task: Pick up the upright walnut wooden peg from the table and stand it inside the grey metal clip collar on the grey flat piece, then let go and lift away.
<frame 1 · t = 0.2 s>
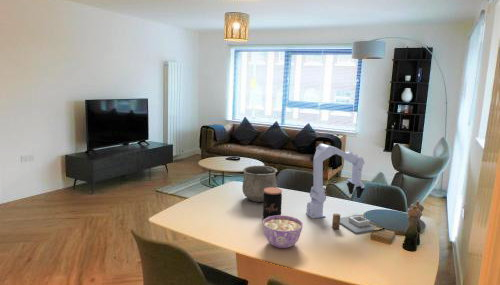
hand: (354, 195, 229), 10 cm above the table, tool pointing down, fingers open, 7 cm apart
pot: (259, 200, 246), on the table
coffee jar: (271, 219, 213), on the table
walnut peg: (335, 228, 203), on the table
bowl of food: (281, 244, 182), on the table
grey flat piece: (358, 224, 209), on the table
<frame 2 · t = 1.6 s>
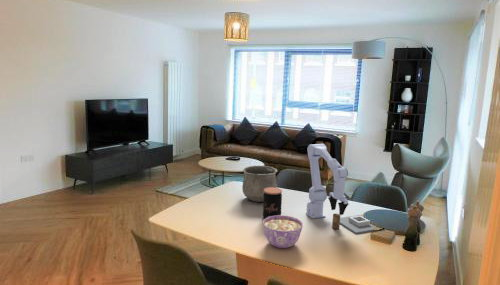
hand: (337, 212, 202), 9 cm above the table, tool pointing down, fingers open, 7 cm apart
nothing on the table moved.
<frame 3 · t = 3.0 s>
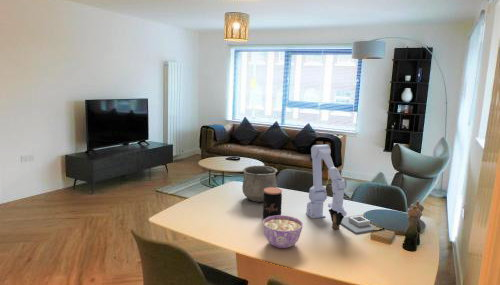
hand: (336, 223, 203), 3 cm above the table, tool pointing down, fingers closed on walnut peg, 4 cm apart
walnut peg: (335, 228, 203), on the table, touching gripper
everything else where it was.
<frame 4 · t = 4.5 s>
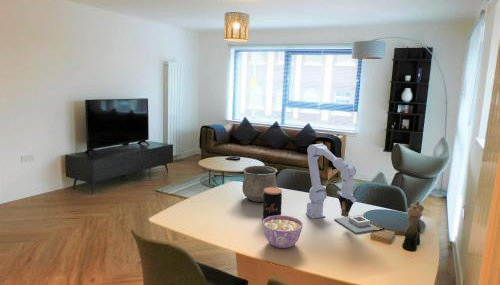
hand: (345, 210, 203), 10 cm above the table, tool pointing down, fingers closed on walnut peg, 4 cm apart
walnut peg: (344, 215, 204), point 7 cm above the table, touching gripper
everything else where it was.
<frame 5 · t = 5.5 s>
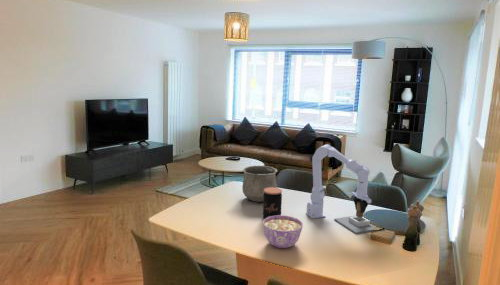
hand: (360, 211, 208), 8 cm above the table, tool pointing down, fingers closed on walnut peg, 4 cm apart
walnut peg: (359, 215, 208), point 5 cm above the table, touching gripper
everything else where it was.
when the fingers open (5 cm above the table, at t = 6.4 s): walnut peg drops 1 cm, resting on grey flat piece.
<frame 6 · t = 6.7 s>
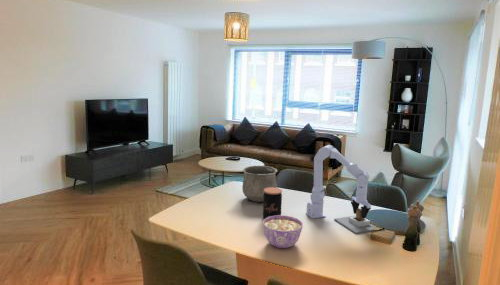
hand: (359, 215, 208), 5 cm above the table, tool pointing down, fingers open, 7 cm apart
walnut peg: (358, 223, 209), point 1 cm above the table, touching grey flat piece
everything else where it was.
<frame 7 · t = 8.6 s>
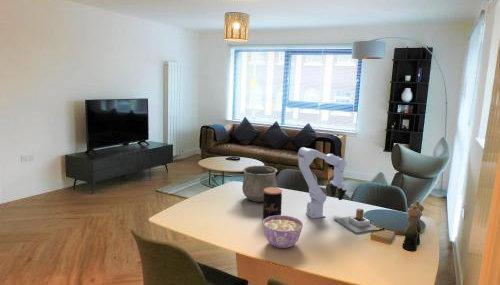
hand: (336, 197, 226), 9 cm above the table, tool pointing down, fingers open, 7 cm apart
nothing on the table moved.
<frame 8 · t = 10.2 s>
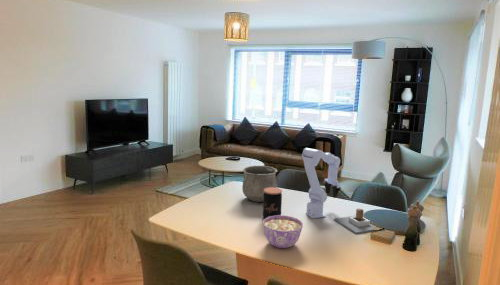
hand: (331, 195, 230), 9 cm above the table, tool pointing down, fingers open, 7 cm apart
nothing on the table moved.
at the end: walnut peg 0.1 cm off-centre on the grey flat piece, point 1.0 cm above the grey flat piece's base; walnut peg tilted 1°; the gripper is holding nothing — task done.
